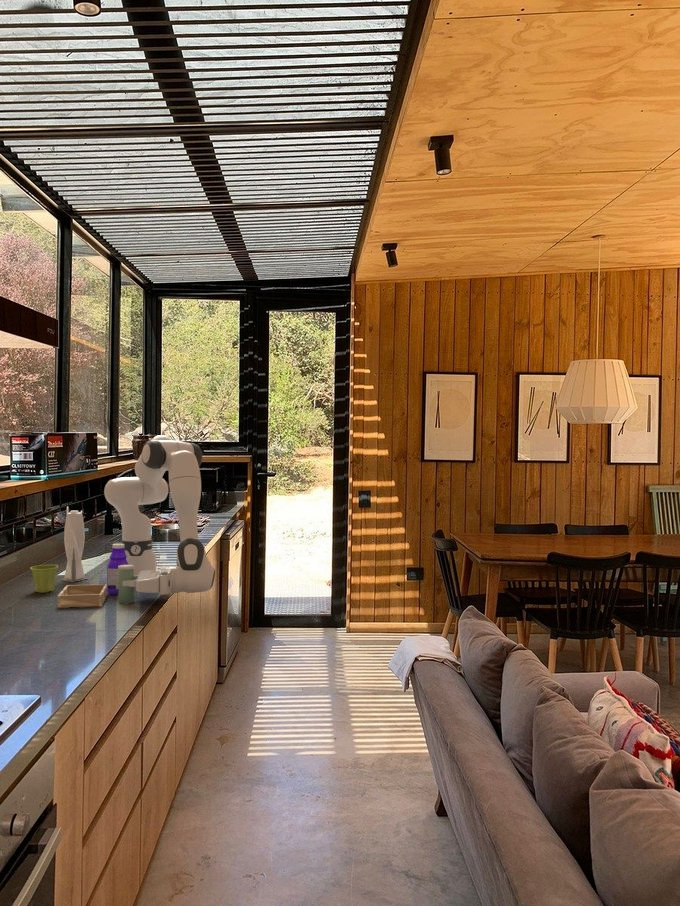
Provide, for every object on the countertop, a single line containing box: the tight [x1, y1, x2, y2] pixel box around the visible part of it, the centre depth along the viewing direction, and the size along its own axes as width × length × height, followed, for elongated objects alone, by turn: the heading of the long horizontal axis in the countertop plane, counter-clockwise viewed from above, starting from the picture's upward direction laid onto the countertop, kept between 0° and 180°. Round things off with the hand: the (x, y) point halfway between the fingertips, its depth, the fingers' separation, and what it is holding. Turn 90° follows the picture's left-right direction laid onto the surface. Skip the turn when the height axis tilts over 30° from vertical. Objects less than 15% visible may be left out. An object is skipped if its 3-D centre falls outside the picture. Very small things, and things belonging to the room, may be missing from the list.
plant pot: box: [29, 564, 59, 594], centre depth 278 cm, size 9×9×9 cm
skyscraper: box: [60, 506, 89, 583], centre depth 299 cm, size 8×8×28 cm
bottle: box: [106, 543, 129, 595], centre depth 274 cm, size 7×6×17 cm
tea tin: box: [117, 565, 135, 604], centre depth 260 cm, size 5×5×12 cm
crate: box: [57, 583, 109, 609], centre depth 261 cm, size 18×14×4 cm
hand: (123, 581), depth 260 cm, fingers closed on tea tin, 5 cm apart
